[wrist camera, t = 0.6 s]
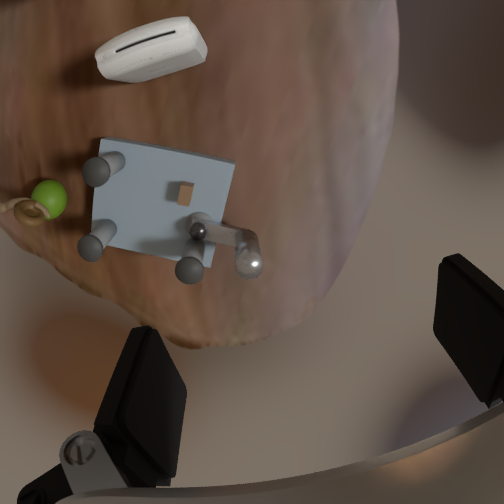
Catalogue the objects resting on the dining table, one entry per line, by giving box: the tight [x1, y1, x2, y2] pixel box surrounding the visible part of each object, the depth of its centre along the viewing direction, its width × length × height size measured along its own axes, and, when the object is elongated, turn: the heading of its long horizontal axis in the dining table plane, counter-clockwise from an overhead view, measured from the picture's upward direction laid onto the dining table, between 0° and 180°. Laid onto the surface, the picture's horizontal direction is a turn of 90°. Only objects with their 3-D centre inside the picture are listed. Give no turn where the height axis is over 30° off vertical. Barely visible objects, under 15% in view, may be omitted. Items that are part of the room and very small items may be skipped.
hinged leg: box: [189, 217, 263, 279], centre depth 37 cm, size 8×3×8 cm, turn 75°
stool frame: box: [77, 137, 235, 284], centre depth 37 cm, size 17×14×9 cm
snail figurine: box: [0, 180, 67, 228], centre depth 34 cm, size 5×6×12 cm
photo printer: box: [95, 17, 207, 83], centre depth 28 cm, size 10×4×12 cm, turn 103°
